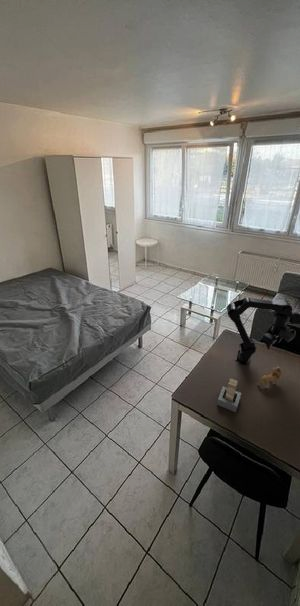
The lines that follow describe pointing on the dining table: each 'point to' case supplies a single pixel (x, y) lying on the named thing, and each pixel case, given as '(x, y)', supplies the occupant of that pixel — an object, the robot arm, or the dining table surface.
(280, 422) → the dining table surface
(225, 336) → the dining table surface
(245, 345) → the robot arm
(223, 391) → the end cap
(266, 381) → the lion figurine
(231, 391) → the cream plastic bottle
